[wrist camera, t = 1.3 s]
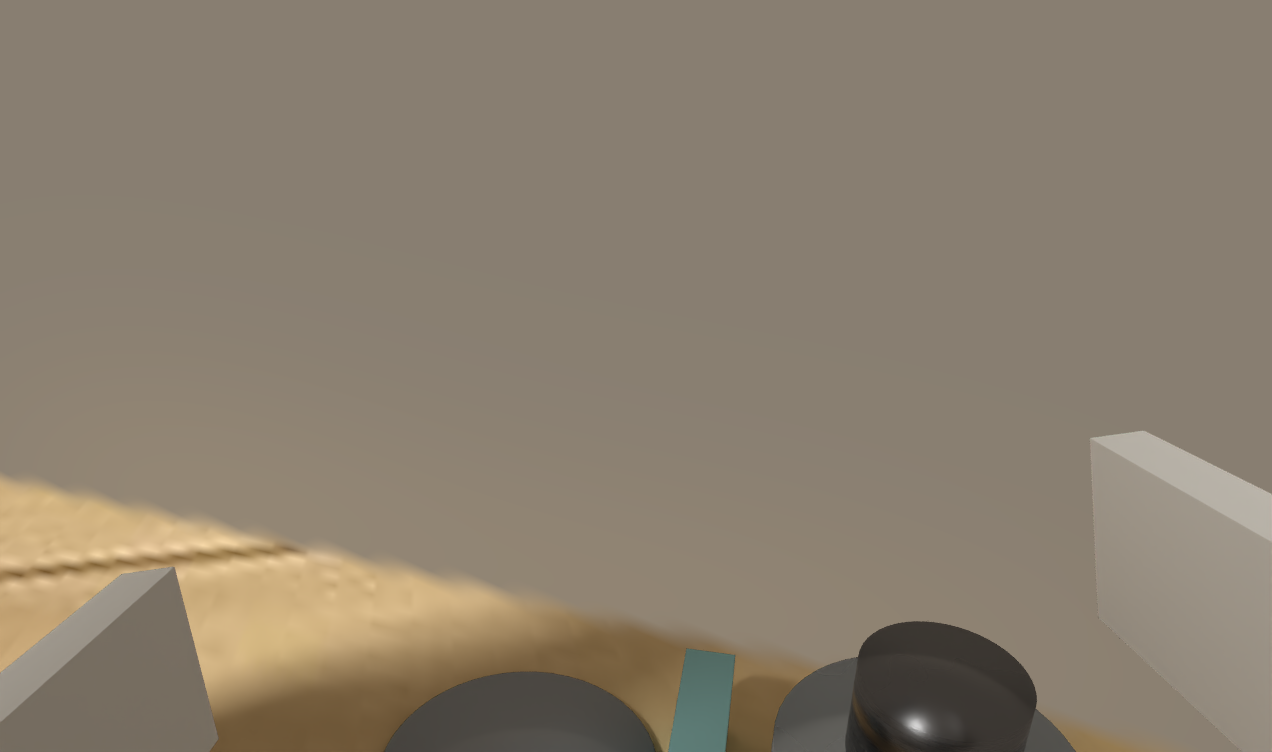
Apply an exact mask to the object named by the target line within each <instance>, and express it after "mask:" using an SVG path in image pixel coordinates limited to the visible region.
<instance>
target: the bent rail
mask: <svg viewBox="0 0 1272 752" xmlns="http://www.w3.org/2000/svg"><path fill="white" fill-rule="evenodd" d="M734 663H735V655H731V654H724V653H716V652H709V651H702V650H694V649H686V654H685V660H684V666H683V671H682V677H681V683H680V688H679V694H678V700H677V705H676V711H675V717H674V722H673V728H672V734H671V739H670V745H669V751H668V752H726V744H727V735H728V725H729V715H730V704H731V694H732V684H733V674H734Z"/></svg>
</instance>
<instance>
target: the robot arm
mask: <svg viewBox="0 0 1272 752" xmlns="http://www.w3.org/2000/svg"><path fill="white" fill-rule="evenodd" d="M1090 448H1091V471H1092V495H1093V517H1094V540H1095V559H1096V560H1095V562H1096V585H1097V606H1098V618H1099V619H1100V620H1101V621H1103V622H1104V623H1105V624H1106V625H1107V626H1108V627H1109V628H1110V629H1111V630H1112V631H1113V632H1114V633H1115V634H1117V635H1118V636H1119V637H1120V638H1121V639H1122V640H1123V641H1124V642H1125V643H1126V644H1127V645H1128V646H1129V647H1130V648H1131V649H1133V651H1135V652H1136V653H1137V654H1138V655H1139V656H1140V657H1141V658H1142V659H1143V660H1144V661H1145V662H1146V663H1147V664H1148V665H1149V666H1151V667H1152V668H1153V669H1154V670H1155V671H1156V672H1157V673H1158V674H1159V675H1160V676H1161V677H1162V678H1163V679H1165V680H1166V681H1167V682H1168V683H1169V684H1170V685H1171V686H1172V687H1173V688H1174V689H1175V690H1176V691H1177V692H1178V693H1180V694H1181V695H1182V696H1183V697H1184V698H1185V699H1186V700H1187V701H1188V702H1189V703H1190V704H1191V705H1192V706H1193V707H1195V709H1197V710H1198V711H1199V712H1200V713H1201V714H1202V715H1203V716H1204V717H1205V718H1206V719H1207V720H1208V721H1209V722H1210V723H1212V724H1213V725H1214V726H1215V727H1216V728H1217V729H1218V730H1219V731H1220V732H1221V733H1222V734H1223V735H1224V736H1225V737H1227V738H1228V739H1229V740H1230V741H1231V742H1232V743H1233V744H1234V745H1235V746H1236V747H1237V748H1238V749H1239V750H1240V751H1242V752H1272V494H1270V493H1268V492H1266V491H1264V490H1262V489H1260V488H1258V487H1256V486H1254V485H1252V484H1250V483H1248V482H1246V481H1244V480H1242V479H1240V478H1238V477H1236V476H1234V475H1232V474H1230V473H1228V472H1226V471H1224V470H1222V469H1220V468H1218V467H1216V466H1214V465H1212V464H1210V463H1208V462H1206V461H1204V460H1202V459H1200V458H1198V457H1196V456H1194V455H1192V454H1190V453H1188V452H1186V451H1184V450H1182V449H1180V448H1178V447H1176V446H1174V445H1172V444H1169V443H1168V442H1166V441H1164V440H1162V439H1160V438H1158V437H1155V436H1154V435H1152V434H1150V433H1148V432H1146V431H1139V432H1131V433H1124V434H1117V435H1110V436H1103V437H1095V438H1090ZM218 739H219V738H218V734H217V730H216V726H215V723H214V719H213V715H212V711H211V707H210V703H209V699H208V695H207V691H206V688H205V684H204V680H203V676H202V672H201V668H200V664H199V660H198V657H197V653H196V649H195V645H194V641H193V637H192V633H191V629H190V626H189V622H188V618H187V614H186V610H185V606H184V602H183V598H182V594H181V591H180V587H179V583H178V579H177V575H176V571H175V567H168V568H161V569H154V570H147V571H140V572H133V573H126V574H121V575H120V576H119V577H117V578H116V579H115V580H114V581H112V582H111V583H110V584H109V585H108V586H106V587H105V588H104V589H103V590H101V591H100V592H99V593H98V594H97V595H95V596H94V597H93V598H92V599H90V600H89V601H88V602H87V603H85V604H84V605H83V606H82V607H81V608H79V609H78V610H77V611H76V612H74V613H73V614H72V615H71V616H70V617H68V618H67V619H66V620H65V621H63V622H62V623H61V624H60V625H58V626H57V627H56V628H55V629H54V630H52V631H51V632H50V633H49V634H47V635H46V636H45V637H44V638H42V639H41V640H40V641H39V642H38V643H36V644H35V645H34V646H33V647H31V648H30V649H29V650H28V651H27V652H25V653H24V654H23V655H22V656H20V657H19V658H18V659H17V660H15V661H14V662H13V663H12V664H11V665H9V666H8V667H7V668H6V669H4V670H3V671H2V672H1V673H0V752H210V750H211V749H212V747H213V746H214V745H215V743H216V742H217V740H218Z"/></svg>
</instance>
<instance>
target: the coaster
mask: <svg viewBox="0 0 1272 752" xmlns="http://www.w3.org/2000/svg"><path fill="white" fill-rule="evenodd" d="M384 752H655V749H654V745H653V743H652V741H651V738H650V736H649V733H648V732H647V730H646V729H645V727H644V725H643V724H642V722H641V721H640V720H639V719H638V717H637V716H636V715H635V714H634V713H633V711H632V710H630V709H629V708H628V707H627V706H626V705H625V704H624V703H623V702H621V701H620V700H619V699H617V698H616V697H614V696H613V695H611V694H610V693H608V692H606V691H604V690H603V689H601V688H599V687H597V686H595V685H592V684H590V683H587V682H585V681H582V680H579V679H575V678H572V677H569V676H564V675H558V674H553V673H543V672H512V673H502V674H496V675H490V676H486V677H482V678H478V679H474V680H471V681H468V682H466V683H463V684H460V685H457V686H455V687H453V688H451V689H449V690H447V691H445V692H443V693H441V694H439V695H438V696H436V697H434V698H433V699H431V700H429V701H428V702H426V703H425V704H424V705H422V706H421V707H420V708H418V709H417V710H416V711H415V712H414V713H413V714H412V715H411V716H410V717H408V718H407V719H406V720H405V721H404V723H403V724H402V725H401V726H400V727H399V729H398V730H397V731H396V732H395V734H394V735H393V737H392V738H391V740H390V742H389V743H388V745H387V747H386V749H385V751H384Z"/></svg>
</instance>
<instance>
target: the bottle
mask: <svg viewBox="0 0 1272 752" xmlns="http://www.w3.org/2000/svg"><path fill="white" fill-rule="evenodd" d="M1036 703H1037V696H1036V691H1035V687H1034V684H1033V682H1032V680H1031V678H1030V676H1029V675H1028V673H1027V672H1026V670H1025V669H1024V668H1023V667H1022V665H1021V664H1019V662H1018V661H1017V660H1016V659H1015V658H1014V657H1013V656H1011V655H1010V654H1009V653H1008V652H1007V651H1005V650H1004V649H1003V648H1001V647H1000V646H998V645H997V644H995V643H993V642H991V641H990V640H988V639H986V638H984V637H982V636H980V635H978V634H975V633H973V632H970V631H968V630H965V629H962V628H958V627H955V626H951V625H947V624H941V623H934V622H905V623H898V624H894V625H890V626H887V627H884V628H882V629H880V630H878V631H877V632H875V633H873V634H872V635H871V636H870V637H869V638H867V640H866V641H865V642H864V643H863V645H862V647H861V649H860V652H859V656H858V657H856V658H851V659H846V660H842V661H839V662H836V663H832V664H830V665H827V666H825V667H823V668H821V669H818V670H816V671H815V672H813V673H812V674H810V675H808V676H807V677H805V678H804V679H803V680H802V681H800V682H799V683H798V684H797V685H796V686H795V687H794V688H793V689H792V690H791V691H790V693H789V694H788V695H787V696H786V698H785V700H784V701H783V703H782V705H781V707H780V708H779V711H778V714H777V717H776V720H775V727H774V734H773V742H772V750H771V752H1076V751H1075V750H1074V749H1073V747H1072V746H1071V745H1070V743H1069V742H1068V741H1067V739H1066V738H1065V737H1064V735H1063V734H1062V733H1061V732H1060V731H1059V730H1058V729H1057V728H1056V727H1055V726H1054V725H1053V724H1052V723H1051V722H1050V721H1049V720H1048V719H1047V718H1046V717H1045V716H1043V715H1042V714H1041V713H1040V712H1039V711H1038V710H1037V709H1035V708H1036Z"/></svg>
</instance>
